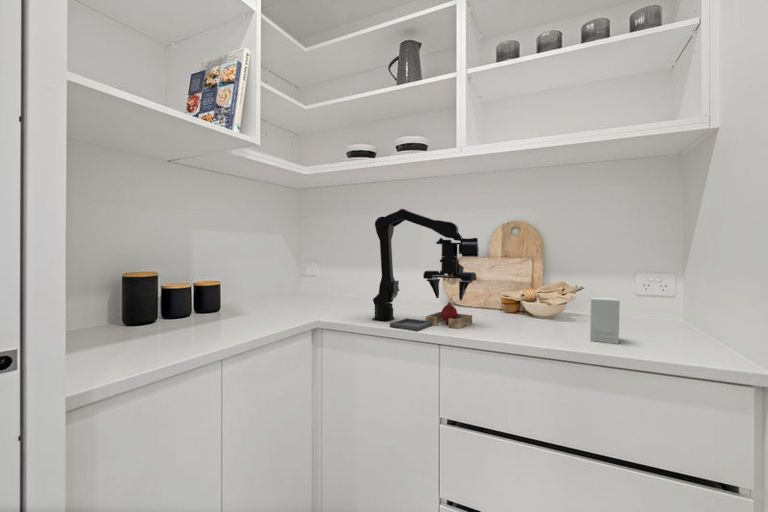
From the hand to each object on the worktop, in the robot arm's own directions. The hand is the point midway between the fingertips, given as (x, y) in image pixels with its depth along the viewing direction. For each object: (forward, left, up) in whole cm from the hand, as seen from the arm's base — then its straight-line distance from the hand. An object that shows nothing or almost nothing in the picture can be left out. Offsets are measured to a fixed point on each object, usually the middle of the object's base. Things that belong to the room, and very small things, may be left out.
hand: (449, 299), depth 133 cm
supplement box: (+49, +5, -9) cm, 50 cm away
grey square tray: (-9, -12, -9) cm, 17 cm away
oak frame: (0, 0, -9) cm, 9 cm away
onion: (0, 0, -9) cm, 9 cm away
